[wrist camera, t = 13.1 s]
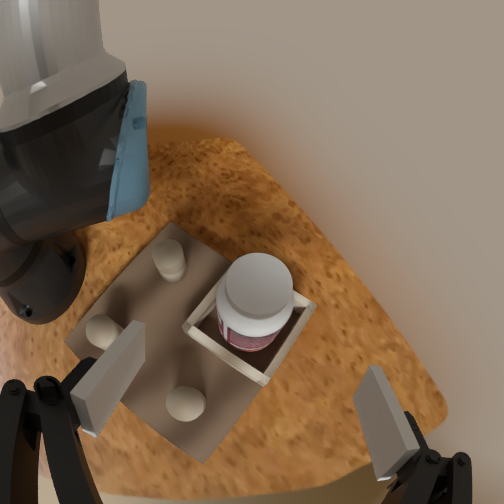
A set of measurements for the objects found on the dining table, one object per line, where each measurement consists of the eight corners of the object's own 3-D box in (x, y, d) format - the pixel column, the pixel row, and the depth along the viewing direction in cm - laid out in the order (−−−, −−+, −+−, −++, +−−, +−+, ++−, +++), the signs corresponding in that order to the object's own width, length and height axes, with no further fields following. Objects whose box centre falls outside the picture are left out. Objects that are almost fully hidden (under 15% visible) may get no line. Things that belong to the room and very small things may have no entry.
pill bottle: (289, 324, 29) (322, 284, 19) (247, 365, 26) (260, 346, 17) (248, 285, 30) (259, 228, 21) (206, 321, 28) (195, 279, 18)
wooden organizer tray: (75, 346, 27) (45, 332, 21) (173, 234, 36) (165, 201, 30) (205, 457, 23) (199, 474, 17) (302, 319, 32) (321, 299, 26)
